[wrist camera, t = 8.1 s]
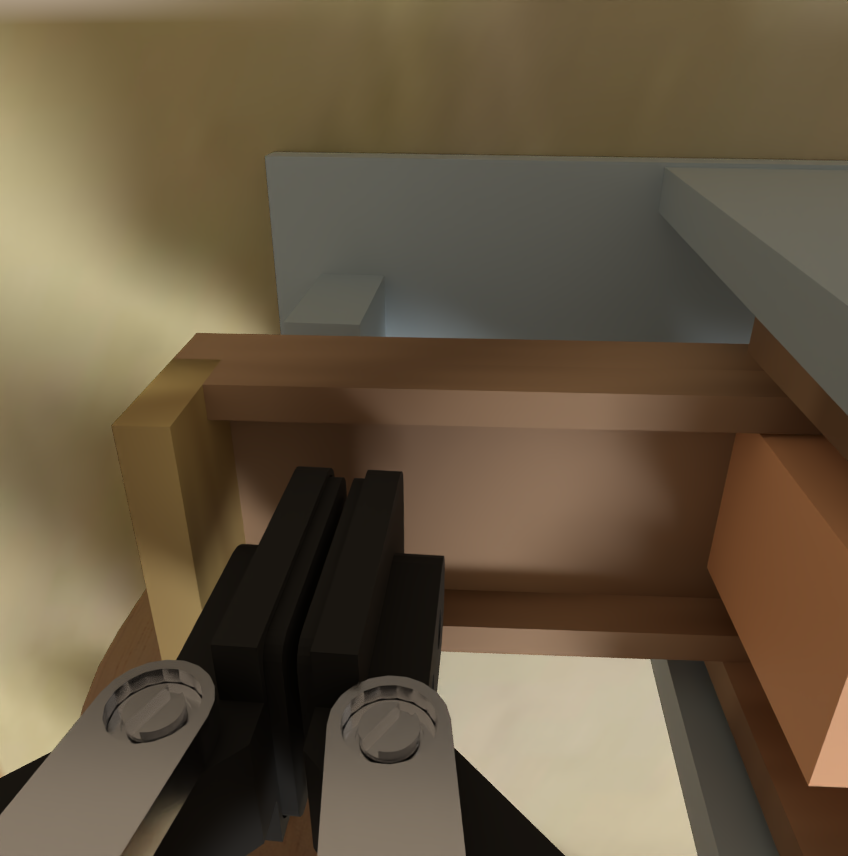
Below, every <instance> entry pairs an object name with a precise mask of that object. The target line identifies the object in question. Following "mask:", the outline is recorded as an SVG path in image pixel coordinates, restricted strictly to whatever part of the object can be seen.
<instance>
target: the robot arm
mask: <svg viewBox="0 0 848 856" xmlns="http://www.w3.org/2000/svg"><path fill="white" fill-rule="evenodd" d="M444 582H445V557H444V556H440V555H423V554H406V553H404V481H403V472H402V471H385V470H367V473H366V476H365V478H354V479H353V482H352V485H351V487H350V490H349V493H348V496H347V488H346V480H345V478H344V477H335V476H334V471H333V469H332V468H325V467H305V466H298V467H296V469H295V470H294V472H293V474H292V477H291V479H290V481H289V483H288V485H287V487H286V489H285V491H284V493H283V495H282V497H281V499H280V501H279V503H278V505H277V507H276V510H275V512H274V514H273V516H272V518H271V520H270V522H269V524H268V526H267V528H266V530H265V532H264V534H263V536H262V538H261V540H260V543H259V545H254V544H240V545H238V546H237V547H236V549H235V550H234V551H233V553H232V555H231V557H230V559H229V561H228V563H227V565H226V566H225V568H224V570H223V572H222V574H221V576H220V578H219V580H218V582H217V583H216V585H215V587H214V589H213V591H212V593H211V595H210V597H209V599H208V601H207V602H206V604H205V606H204V608H203V610H202V612H201V614H200V616H199V618H198V619H197V621H196V623H195V625H194V627H193V629H192V631H191V633H190V635H189V637H188V638H187V640H186V642H185V644H184V646H183V648H182V650H181V652H180V654H179V655H178V657H177V659H176V660H161V661H155V662H149V663H146V664H143V665H141V666H138V667H135V668H133V669H130V670H129V671H127V672H125V673H124V674H122V675H120V676H119V677H117V678H115V679H114V680H113V681H112V682H111V683H110V684H109V685H108V686H106V687H105V688H104V689H103V690H102V691H101V692H100V693H99V695H98V696H97V697H96V698H95V699H94V701H93V702H92V703H91V704H90V706H89V707H88V708H87V709H86V711H85V712H84V713H83V714H82V715H81V717H80V718H79V719H78V720H77V722H76V723H75V724H74V725H73V726H72V728H71V729H70V730H69V731H68V733H67V734H66V735H65V736H64V737H63V739H62V740H61V741H60V742H59V744H58V745H57V746H56V747H55V748H54V750H53V751H52V752H50V753H48V754H46V755H44V756H42V757H40V758H39V759H37V760H35V761H33V762H31V763H29V764H27V765H25V766H23V767H21V768H19V769H17V770H15V771H13V772H11V773H9V774H7V775H5V776H3V777H1V778H0V856H246V855H248V854H249V853H251V852H252V851H254V850H255V849H257V848H258V847H260V846H261V845H263V844H264V842H265V840H267V841H278V842H283V839H284V836H285V832H286V828H287V825H288V821H289V817H290V816H297V817H301V816H302V815H303V813H304V810H305V807H306V803H307V800H308V801H309V810H310V820H311V830H312V839H313V848H314V849H315V851H316V852H317V856H565V855H564V854H563V853H562V852H561V851H560V850H559V849H558V848H557V847H555V846H554V845H553V844H552V843H551V842H550V841H549V840H548V839H547V838H546V837H545V836H544V835H543V834H542V833H541V832H540V831H539V830H538V829H537V828H536V827H535V826H534V825H533V824H532V823H531V822H530V821H529V820H528V819H527V818H526V817H525V816H524V815H523V814H522V813H521V812H520V811H519V810H518V809H517V808H515V807H514V806H513V805H512V804H511V803H510V802H509V801H508V800H507V799H506V798H505V797H504V796H503V795H502V794H501V793H500V792H499V791H498V790H497V789H496V788H495V787H494V786H493V785H492V784H491V783H490V782H489V781H488V780H487V779H486V778H485V777H484V776H483V775H482V774H481V773H480V772H479V771H478V770H476V769H475V768H474V767H473V766H472V765H471V764H470V763H469V762H468V761H467V760H466V759H465V758H464V757H463V756H462V755H461V754H460V753H459V752H458V751H457V750H456V749H455V748H454V744H453V735H452V725H451V718H450V715H449V712H448V709H447V705H446V704H445V702H444V701H443V700H442V698H441V697H440V696H439V695H438V693H437V685H438V675H439V665H440V655H441V644H442V631H443V614H444Z"/></svg>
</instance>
